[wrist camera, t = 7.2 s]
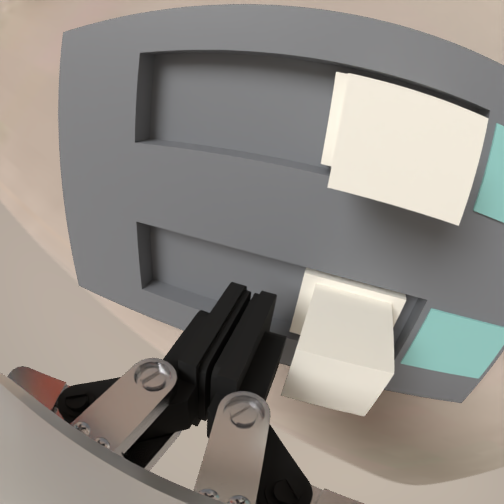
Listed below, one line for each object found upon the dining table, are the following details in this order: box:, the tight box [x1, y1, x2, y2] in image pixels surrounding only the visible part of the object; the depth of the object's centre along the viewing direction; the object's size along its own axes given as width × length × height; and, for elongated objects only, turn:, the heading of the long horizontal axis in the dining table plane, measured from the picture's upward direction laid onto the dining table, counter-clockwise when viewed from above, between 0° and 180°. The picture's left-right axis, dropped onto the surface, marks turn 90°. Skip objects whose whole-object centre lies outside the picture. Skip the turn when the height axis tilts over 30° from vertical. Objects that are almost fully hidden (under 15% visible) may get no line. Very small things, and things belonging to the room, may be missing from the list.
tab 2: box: [281, 267, 406, 416], centre depth 11 cm, size 4×3×4 cm
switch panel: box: [58, 4, 504, 403], centre depth 12 cm, size 22×14×3 cm, turn 83°
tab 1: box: [321, 72, 488, 226], centre depth 7 cm, size 4×3×4 cm
